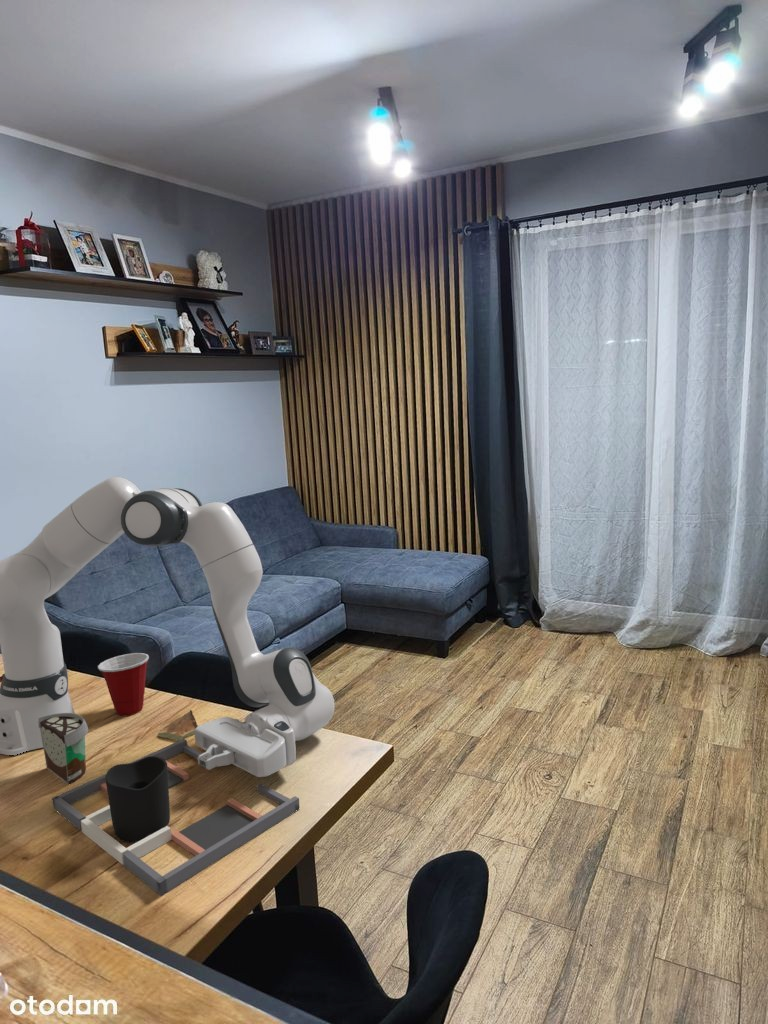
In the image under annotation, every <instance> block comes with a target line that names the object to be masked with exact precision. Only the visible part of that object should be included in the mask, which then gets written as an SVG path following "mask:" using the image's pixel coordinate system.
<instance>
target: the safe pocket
mask: <svg viewBox="0 0 768 1024" xmlns="http://www.w3.org/2000/svg"><path fill="white" fill-rule="evenodd" d="M110 820H111V821H112V818H111V811H110V805H109V804H108V805H107V806H104V807H103V808H100V809H98V810H96V811H94V812H92V813H90V814H88V815H85V819H83V820H81V827H82V830H81V832H82V833H83V834H84V835H85V836H86V837H87V838H88V839H90V840H91V841H93V842H94V843H95V844H96V845H98V846H99V848H101V849H102V850H104V851H105V852H106V853H107V854H109V855H110V856H111V857H113V858H114V859H115V860H116V861H117V862H118V863H120V864H121V865H122V866H125V865H124V856H123V854H125V853H126V852H128V851H130V852H132V853H133V854H134V855H136V856H137V857H138V858H139V859H141V858H142V857H143V856H146V855H147V854H149V853H151V852H153V851H155V850H156V849H159V848H160V847H162V846H164V845H165V844H166V843H168V842H170V841H173V840H172V836H171V832H172V827H170V826H169V825H168V826H166V827H164V828H162V829H160V830H159V831H157V832H155V833H153V834H151V835H149V836H148V837H146V838H144V839H142V840H140V841H138V842H134V843H132V844H131V845H129V846H128V847H125V846H124V845H123V844H121V843H120V842H119V841H118V840H116V839H115V838H114V837H112V836H111V835H110V834H108V833H107V832H106V831H104V830H103V829H102V828H100V827H99V826H100V825H103V824H105V823H107V822H109V821H110Z"/></svg>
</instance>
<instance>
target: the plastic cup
mask: <svg viewBox="0 0 768 1024" xmlns="http://www.w3.org/2000/svg"><path fill="white" fill-rule="evenodd" d="M149 659H150V656H149V654H147V653H143V652H134V653H133V652H132V653H126V654H122V655H117V656H114V657H110V658H108V659H105V660H104V661H102V662H100V663H99V664H98V665H97V669H98V670H99V671H100V672H101V674H102V676H103V679H104V681H105V683H106V686H107V689H108V692H109V696H110V699H111V701H112V705H113V708H114V712H115V713H116V715H118V716H123V717H125V716H131V715H135V714H137V713H139V712H141V711H142V709H144V700H145V699H144V697H145V692H146V691H145V690H146V689H145V688H146V677H147V676H146V675H147V674H146V673H147V666H148V662H149Z"/></svg>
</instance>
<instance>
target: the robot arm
mask: <svg viewBox="0 0 768 1024" xmlns="http://www.w3.org/2000/svg"><path fill="white" fill-rule="evenodd" d="M124 534H125V536H126V537H127V538H128V539H130V541H132V542H134V543H136V544H138V545H140V546H145V547H161V546H162V547H163V546H169V545H176V544H179V543H184V544H186V545H187V546H189V548H190V549H191V550H192V551H193V553H194V555H195V556H196V559H197V561H198V563H199V565H200V567H201V570H202V572H203V575H204V577H205V579H206V582H207V585H208V589H209V592H210V597H211V598H210V599H211V600H210V601H211V609H212V613H213V616H214V620H215V623H216V626H217V628H218V631H219V634H220V637H221V640H222V642H223V645H224V648H225V651H226V653H227V657H228V660H229V662H230V666H231V667H230V668H231V674H232V675H231V676H232V684H233V689H234V692H235V694H236V696H237V697H238V699H239V700H240V701H241V702H242V703H243V704H244V705H246V706H249V707H252V708H259V709H256V710H254V711H252V712H250V713H248V714H247V715H246V716H245V719H244V721H240V720H239V719H237V718H233V717H231V716H222V717H219V718H215V719H213V720H210V721H207V722H204V723H202V724H199V725H198V726H197V728H196V729H195V735H194V742H195V746H197V747H199V748H201V749H203V750H204V751H205V752H202V753H203V754H201V755H199V756H198V759H197V763H198V765H199V766H201V767H203V768H204V769H206V770H209V771H210V770H212V769H214V768H217V767H223V766H224V767H225V766H229V765H231V764H232V765H233V766H236V767H237V768H239V769H241V770H244V771H245V772H247V773H249V774H251V775H253V776H255V777H257V778H265V777H268V776H271V775H273V774H275V773H277V772H278V771H281V769H283V768H285V767H286V766H289V765H292V764H294V763H295V762H296V759H297V757H296V756H297V755H296V754H297V750H296V748H297V747H296V741H297V742H298V741H303V740H305V739H307V738H309V737H310V736H312V735H315V733H317V732H318V731H320V730H321V729H323V728H324V727H325V726H326V725H328V723H329V722H330V721H331V719H332V717H333V716H334V713H335V709H336V708H335V706H336V705H335V700H334V699H335V698H334V696H333V694H332V692H331V690H330V689H329V688H328V687H327V686H325V685H324V684H322V683H321V682H320V680H319V679H318V678H317V677H316V676H315V674H314V672H313V669H312V665H311V663H310V660H309V658H308V657H307V656H306V655H305V654H304V652H302V651H301V650H299V649H298V648H295V647H286V648H281V649H278V650H274V651H271V652H270V653H269V652H268V653H266V654H263V653H262V652H261V651H260V649H259V647H258V645H257V642H256V639H255V637H254V633H253V630H252V628H251V625H250V622H249V618H248V611H247V610H248V605H249V603H250V601H251V599H252V597H253V596H254V594H255V593H256V591H257V590H258V588H259V586H260V584H261V581H262V579H263V574H264V571H263V566H262V562H261V561H262V560H261V558H260V556H259V553H258V552H257V548H256V546H255V545H254V544H253V541H252V539H251V537H250V535H249V533H248V532H247V530H246V528H245V526H244V524H243V523H242V521H241V520H240V518H239V517H238V516H237V513H235V511H234V510H233V508H231V506H230V505H228V504H226V503H224V502H221V501H213V502H208V503H205V504H202V502H201V500H200V498H198V497H197V495H196V494H194V493H193V492H191V491H189V490H187V489H184V488H175V487H174V488H173V487H172V488H171V487H170V488H168V487H166V488H165V487H164V488H163V487H162V488H157V489H153V490H144V491H141V490H140V488H138V486H136V485H135V483H134V482H132V481H130V480H129V479H126V478H124V477H120V476H112V477H109V478H107V479H105V480H103V481H101V482H99V483H98V484H96V485H94V486H93V487H91V488H90V489H88V490H87V491H85V492H84V493H82V494H81V495H80V496H79V497H77V498H76V499H75V500H74V501H72V502H71V503H70V504H69V505H68V506H67V507H65V508H64V509H63V510H62V511H61V512H59V513H58V514H57V515H56V516H54V517H53V518H52V519H51V520H49V522H47V523H46V524H45V525H44V526H43V527H42V529H41V531H40V532H39V533H38V535H37V536H36V537H35V538H34V539H33V540H32V541H31V542H30V543H29V544H28V545H27V546H25V547H24V548H23V549H21V550H20V551H18V552H17V553H15V554H13V555H10V556H9V557H7V558H4V559H1V560H0V651H1V657H2V663H3V671H4V673H2V674H1V676H0V683H1V684H0V754H2V755H6V756H9V755H14V756H18V755H21V754H23V752H24V753H26V751H27V752H29V751H32V750H37V749H42V748H43V743H42V737H41V731H40V728H39V726H38V721H39V719H38V718H40V717H44V716H47V715H52V714H58V713H74V714H76V712H75V710H74V707H73V704H72V700H71V696H70V692H69V689H68V688H69V676H68V668H67V664H66V663H65V661H64V655H63V647H62V639H61V632H60V631H61V630H60V629H59V627H57V626H56V625H55V624H53V623H52V621H50V618H49V616H48V613H47V612H46V608H45V600H46V599H48V598H49V597H52V596H53V595H55V594H56V593H58V591H60V590H61V589H62V588H63V587H64V586H65V585H67V583H68V582H70V581H71V580H72V579H73V578H74V577H75V576H76V575H77V574H78V573H80V571H81V570H82V569H84V567H85V566H86V565H87V564H89V563H90V562H91V561H92V560H93V559H95V558H96V557H97V556H98V555H99V554H101V553H102V552H103V551H104V550H106V549H107V548H108V547H109V546H110V545H111V544H113V543H114V542H115V541H116V540H117V539H119V538H120V537H121V536H122V535H124ZM20 753H21V754H20ZM17 754H18V755H17Z"/></svg>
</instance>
